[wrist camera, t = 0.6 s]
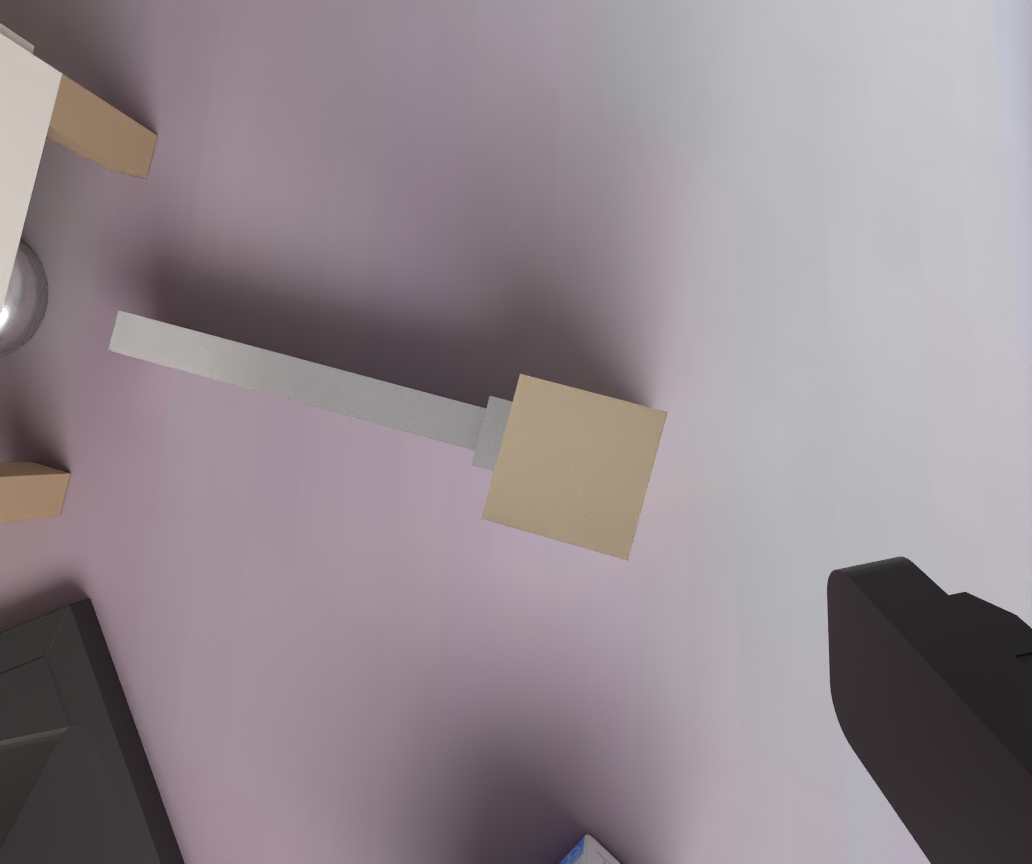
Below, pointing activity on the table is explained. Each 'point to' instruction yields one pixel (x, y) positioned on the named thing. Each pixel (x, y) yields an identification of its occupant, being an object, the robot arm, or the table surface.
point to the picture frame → (83, 711)
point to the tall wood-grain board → (462, 431)
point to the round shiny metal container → (23, 301)
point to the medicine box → (588, 853)
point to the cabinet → (7, 191)
